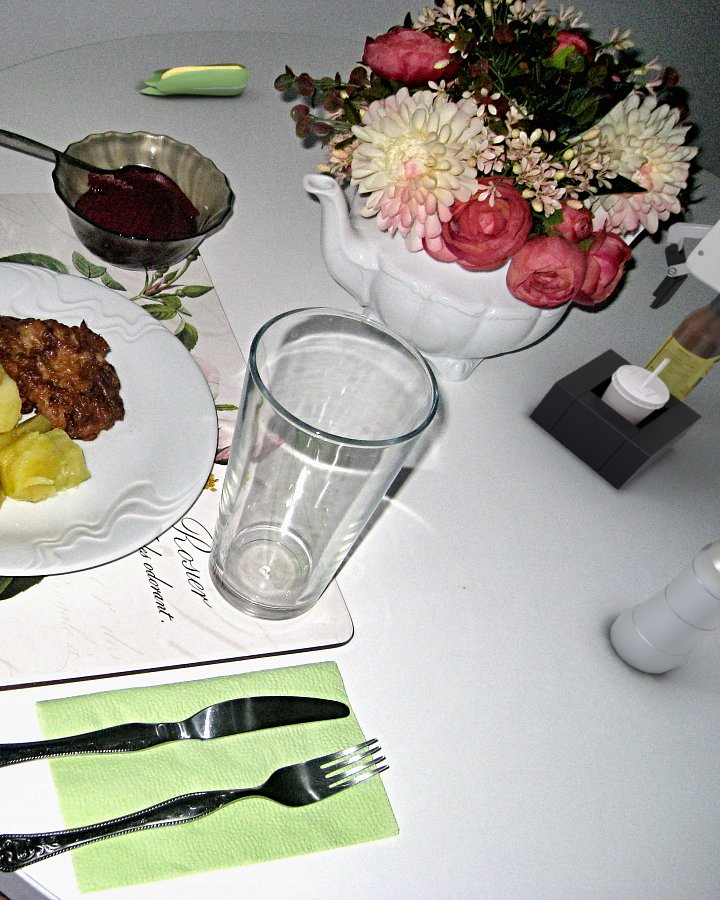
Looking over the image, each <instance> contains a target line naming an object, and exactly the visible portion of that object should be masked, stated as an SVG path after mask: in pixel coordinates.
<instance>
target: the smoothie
mask: <svg viewBox="0 0 720 900" xmlns="http://www.w3.org/2000/svg"><path fill="white" fill-rule="evenodd" d="M669 362H670V359H669V358H665V359H664V361H663V362H662V363H661V364H660V365H659V366H658V367H657V368H656V370H655V371H654V372H653V373H652V372H650V371H648V370H646V369H644V368H643V367H641V366H639V365H633V364H632V365H624V366H621V367H620V368H619V369H618V370H617V371H616V372H615V373H614V374H613V375H612V382H611V383H610V385H609V387H608V388H607V390H606V391H605V393H604V395H603V396H602V398H601V400H603V401H604V402H605V403H606V404H608V405H609V406H610V407H612V408H613V409H614V410H615V411H617V412H618V413H619V414H621V415H622V416H623V417H624V418H626V419H627V420H628V421H630V422H631V423H632V424H633V425H637V424H638V423H639V422H640V421H641V420H643V419H644V418H645V417H646V416H648V415H649V414H650V413H651V412H652V411H654V410H655V409H659V408H661V407H663V406H664V404H665V403H666V402H667V401H668V399H669V396H670V395H669V390H668V388H667V386H666V385H665V384H664V382H663V381H662V380H661V379H660V378H658V377H657V375H658V374H659V373H660V372H661V371H662V370H663V368H664V367H665V366H666V365H667V364H668V363H669Z"/></svg>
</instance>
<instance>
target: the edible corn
mask: <svg viewBox="0 0 720 900" xmlns="http://www.w3.org/2000/svg"><path fill="white" fill-rule="evenodd" d="M152 73H153V74H154V75H153V76H150V77H148V78H147V79H146V80H145V81H143V83H144V84H146V85H147V86H148V87H145V88H143V89H141V90H140V93H143V94H148V95H156V96H171V95H172V96H173V95H193V96H195V95H197V96H217V97H219V96H220V97H221V96H224V97H225V96H227V97H228V96H238V95H240V94H241V93H242V92H243V91H245V90H246V89H247V87H248V84H247V85H246V87H244V88H239V89H198V88H209V87H210V88H211V87H233V86H240V85H244V84H246V83H247V81H248V78H251V77H252V75H251V73H249V68H247V67H246V66H245V65H244V64H242V63H241V64H240V63H235V62H234V63H233V62H225V63H224V62H223V63H212V64H211V63H210V64H202V65H200V64H199V65H192V66H179V67H171V68H162V69H157V70H154V71H152ZM251 79H252V78H251ZM248 82H249V81H248ZM193 88H195V89H193ZM196 88H197V89H196Z"/></svg>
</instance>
